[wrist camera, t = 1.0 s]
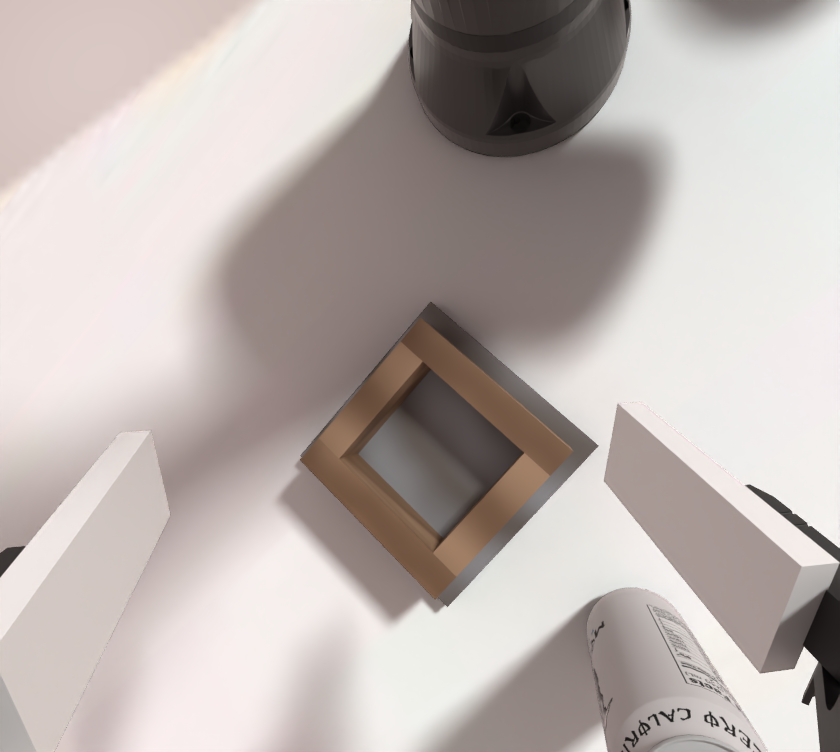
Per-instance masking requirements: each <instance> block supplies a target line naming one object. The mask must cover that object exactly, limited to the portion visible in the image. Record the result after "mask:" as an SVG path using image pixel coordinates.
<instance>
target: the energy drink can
mask: <svg viewBox="0 0 840 752" xmlns="http://www.w3.org/2000/svg"><path fill="white" fill-rule="evenodd" d="M586 631H587V640H588V646H589V651H590V657H591V662H592V668H593V673H594V679H595V684H596V690H597V695H598V701H599V706H600V712H601V717H602V723H603V728H604V734H605V739H606V745H607V750H608V752H768V751H767V749H766V747H765V745H764V743H763V742H762V740H761V738H760V737H759V735H758V734H757V732H756V731H755V729H754V728H753V726H752V725H751V723H750V722H749V720H748V718H747V717H746V715H745V714H744V712H743V711H742V709H741V708H740V706H739V705H738V703H737V701H736V700H735V698H734V697H733V695H732V694H731V692H730V691H729V689H728V688H727V686H726V685H725V683H724V681H723V680H722V678H721V677H720V675H719V674H718V672H717V671H716V669H715V668H714V666H713V664H712V663H711V661H710V660H709V658H708V657H707V655H706V654H705V652H704V651H703V649H702V648H701V646H700V644H699V643H698V641H697V640H696V638H695V637H694V635H693V634H692V632H691V631H690V629H689V627H688V626H687V624H686V623H685V621H684V620H683V618H682V617H681V615H680V614H679V612H678V611H677V610H676V609H675V607H674V606H673V605H672V604H671V603H669V602H668V601H667V600H666V599H665V598H663V597H661V596H660V595H658V594H656V593H654V592H651V591H649V590H646V589H641V588H622V589H617V590H614V591H612V592H610V593H608V594H606V595H605V596H603V597H602V598H601V599H600V600H599V601H598V602H597V603H596V604H595V605H594V607H593V609H592V610H591V612H590V615H589V618H588V621H587V630H586Z"/></svg>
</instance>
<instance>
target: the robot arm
mask: <svg viewBox="0 0 840 752" xmlns="http://www.w3.org/2000/svg"><path fill="white" fill-rule="evenodd" d="M411 19H412V24H411V28H410V34H409V47H408V56H409V66H410V73H411V77H412V81H413V84H414V87H415V90H416V92H417V95H418V97H419V100H420V102H421V105H422V107H423V109H424V111H425V113H426V115H427V116H428V118H429V119H430V121H431V122H432V124H433V125H434V126H435V127H436V128H437V129H438V130H439V131H440V132H441V133H442V134H443V135H444V136H445V137H446V138H448V139H449V140H451V141H452V142H453V143H455V144H457V145H459V146H461V147H463V148H465V149H467V150H470V151H473V152H476V153H480V154H484V155H491V156H518V155H524V154H529V153H533V152H537V151H540V150H543V149H546V148H548V147H551V146H553V145H555V144H557V143H559V142H561V141H563V140H565V139H566V138H568V137H569V136H571V135H573V134H574V133H575V132H577V131H578V130H579V129H581V128H582V127H583V126H584V125H585V124H587V123H588V122H589V121H590V120H591V119H592V118H593V117H594V116H595V115H596V113H597V112H598V111H599V110H600V109H601V108H602V106H603V105H604V104H605V102H606V101H607V99H608V98H609V96H610V95H611V93H612V91H613V89H614V87H615V85H616V83H617V81H618V79H619V76H620V74H621V71H622V68H623V64H624V60H625V56H626V51H627V47H628V42H629V37H630V30H631V5H630V0H411ZM604 482H605V483H606V484H607V485H608V487H609V488H610V489H611V490H612V492H613V493H614V494H615V495H616V496H617V498H618V499H619V500H620V501H621V503H622V504H623V505H624V506H625V508H626V509H627V510H628V511H629V513H630V514H631V515H632V516H633V517H634V519H635V520H636V521H637V522H638V524H639V525H640V526H641V527H642V529H643V530H644V531H645V532H646V534H647V535H648V536H649V537H650V538H651V540H652V541H653V542H654V543H655V545H656V546H657V547H658V548H659V550H660V551H661V552H662V553H663V554H664V556H665V557H666V558H667V559H668V561H669V562H670V563H671V564H672V566H673V567H674V568H675V569H676V571H677V572H678V573H679V574H680V575H681V577H682V578H683V579H684V580H685V582H686V583H687V584H688V585H689V587H690V588H691V589H692V590H693V591H694V593H695V594H696V595H697V596H698V598H699V599H700V600H701V601H702V603H703V604H704V605H705V606H706V608H707V609H708V610H709V611H710V612H711V614H712V615H713V616H714V617H715V619H716V620H717V621H718V622H719V624H720V625H721V626H722V627H723V629H724V630H725V631H726V632H727V633H728V635H729V636H730V637H731V638H732V640H733V641H734V642H735V643H736V645H737V646H738V647H739V648H740V649H741V651H742V652H743V653H744V654H745V656H746V657H747V658H748V659H749V661H750V662H751V663H752V664H753V666H754V667H755V668H756V669H757V670H758V672H759V673H767V672H774V671H781V670H789V669H794V668H795V666H796V664H797V661H798V659H799V657H800V654H801V652H802V650H803V647H805V648H806V649H807V650H808V651H809V652H810V653H811V654H812V655H813V656H814V657H815V658H816V659H817V661H818V664H817V666H816V668H815V670H814V673H813V675H812V677H811V679H810V681H809V684H808V686H807V688H806V690H805V692H804V695H803V699H802V703H804V704H806V705H809V703H810V701H811V699H812V697H814V696H815V698H816V709H817V720H818V732H819V743H820V752H840V548H838V547H837V546H836V545H835V544H833V543H832V542H831V541H829V540H828V539H827V538H826V537H824V536H823V535H822V534H820V533H819V532H818V531H817V530H815V529H814V528H813V527H812V526H809V527H808V525H807V523H806V522H805V521H804V520H803V519H801V518H800V517H799V516H798V515H796V514H792V511H791V510H790V509H789V508H787V507H786V506H785V505H783V504H782V503H781V502H780V501H778V500H777V499H776V498H775V497H773V496H771V495H769V494H767V493H765V492H763V491H761V490H759V489H757V488H755V487H753V486H751V485H744V484H742V483H741V482H740V481H739V480H737V479H736V478H735V477H734V476H732V475H731V474H730V473H729V472H727V471H726V470H725V469H724V468H723V467H721V466H720V465H719V464H718V463H716V462H715V461H714V460H713V459H711V458H710V457H709V456H708V455H707V454H705V453H704V452H703V451H702V450H700V449H699V448H698V447H697V446H695V445H694V444H693V443H692V442H690V441H689V440H688V439H687V438H686V437H684V436H683V435H682V434H681V433H679V432H678V431H677V430H676V429H674V428H673V427H672V426H671V425H670V424H668V423H667V422H666V421H665V420H663V419H662V418H661V417H660V416H658V415H657V414H656V413H655V412H654V411H652V410H651V409H650V408H649V407H647V406H646V405H645V404H644V403H642V402H632V403H618V405H617V410H616V416H615V421H614V427H613V433H612V438H611V444H610V449H609V455H608V461H607V466H606V472H605V477H604ZM170 515H171V514H170V510H169V505H168V501H167V497H166V492H165V488H164V484H163V479H162V475H161V471H160V466H159V462H158V458H157V453H156V449H155V445H154V440H153V436H152V432H151V430H148V431H131V432H120V433H119V434H118V436H117V437H116V438H115V439H114V440H113V442H112V443H111V444H110V445H109V446H108V448H107V449H106V450H105V451H104V452H103V454H102V455H101V456H100V457H99V459H98V460H97V461H96V462H95V463H94V465H93V466H92V467H91V468H90V469H89V471H88V472H87V473H86V474H85V476H84V477H83V478H82V479H81V480H80V482H79V483H78V484H77V485H76V486H75V488H74V489H73V490H72V491H71V492H70V494H69V495H68V496H67V497H66V499H65V500H64V501H63V502H62V503H61V505H60V506H59V507H58V508H57V509H56V511H55V512H54V513H53V514H52V515H51V517H50V518H49V519H48V520H47V522H46V523H45V524H44V525H43V526H42V528H41V529H40V530H39V531H38V532H37V534H36V535H35V536H34V537H33V539H32V540H31V541H30V542H29V543H28V545H27V546H23V547H11V548H7V549H5V550H4V551H3V552H1V553H0V752H55V750H56V748H57V746H58V744H59V742H60V740H61V738H62V736H63V734H64V732H65V730H66V728H67V726H68V723H69V721H70V719H71V717H72V715H73V713H74V711H75V709H76V707H77V705H78V703H79V701H80V699H81V697H82V695H83V693H84V691H85V689H86V687H87V685H88V683H89V681H90V679H91V677H92V674H93V672H94V670H95V668H96V666H97V664H98V662H99V660H100V658H101V656H102V654H103V652H104V650H105V648H106V646H107V644H108V642H109V640H110V638H111V636H112V634H113V632H114V630H115V628H116V626H117V623H118V621H119V619H120V617H121V615H122V613H123V611H124V609H125V607H126V605H127V603H128V601H129V599H130V597H131V595H132V593H133V591H134V589H135V587H136V585H137V583H138V581H139V579H140V577H141V575H142V572H143V570H144V568H145V566H146V564H147V562H148V560H149V558H150V556H151V554H152V552H153V550H154V548H155V546H156V544H157V542H158V540H159V538H160V536H161V534H162V532H163V530H164V528H165V526H166V524H167V521H168V519H169V517H170Z"/></svg>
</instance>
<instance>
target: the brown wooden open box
mask: <svg viewBox="0 0 840 752" xmlns="http://www.w3.org/2000/svg"><path fill="white" fill-rule="evenodd" d="M597 447H598V445H597V444H596V443H595V442H594V441H592V440H591V439H590V438H589V437H588V436H587V435H585V434H584V433H583V432H582V431H581V430H580V429H578V428H577V427H576V426H575V425H574V424H573V423H571V422H570V421H569V420H568V419H567V418H566V417H564V416H563V415H562V414H561V413H560V412H559V411H557V410H556V409H555V408H554V407H553V406H552V405H550V404H549V403H548V402H547V401H546V400H545V399H544V398H542V397H541V396H540V395H539V394H538V393H537V392H535V391H534V390H533V389H532V388H531V387H530V386H528V385H527V384H526V383H525V382H524V381H523V380H521V379H520V378H519V377H518V376H517V375H516V374H514V373H513V372H512V371H511V370H510V369H509V368H507V367H506V366H505V365H504V364H503V363H502V362H500V361H499V360H498V359H497V358H496V357H495V356H493V355H492V354H491V353H490V352H489V351H488V350H486V349H485V348H484V347H483V346H482V345H481V344H479V343H478V342H477V341H476V340H475V339H474V338H472V337H471V336H470V335H469V334H468V333H467V332H466V331H464V330H463V329H462V328H461V327H460V326H459V325H457V324H456V323H455V322H454V321H453V320H452V319H450V318H449V317H448V316H447V315H446V314H445V313H443V312H442V311H441V310H440V309H439V308H438V307H436V306H435V305H434V304H433V303H432V302H430V303H429V304H428V306H427V307H426V308H425V309H424V310H423V312H422V313H421V314H420V315H419V316H418V317H417V319H416V320H415V321H414V322H413V323H412V325H411V326H410V327H409V328H408V329H407V330H406V332H405V333H404V334H403V335H402V336H401V338H400V339H399V340H398V341H397V342H396V343H395V345H394V346H393V347H392V348H391V349H390V351H389V352H388V353H387V354H386V355H385V356H384V358H383V359H382V360H381V361H380V362H379V364H378V365H377V366H376V367H375V368H374V369H373V371H372V372H371V373H370V374H369V375H368V377H367V378H366V379H365V380H364V381H363V382H362V384H361V385H360V386H359V387H358V388H357V390H356V391H355V392H354V393H353V394H352V395H351V397H350V398H349V399H348V400H347V401H346V402H345V404H344V405H343V406H342V407H341V408H340V410H339V411H338V412H337V413H336V414H335V415H334V417H333V418H332V419H331V420H330V421H329V423H328V424H327V425H326V426H325V427H324V428H323V430H322V431H321V432H320V433H319V434H318V436H317V437H316V438H315V439H314V440H313V441H312V443H311V444H310V445H309V446H308V447H307V449H306V450H305V451H304V452H303V453H302V454H301V457H302V458H301V459H300V460H301V461H302V462H303V463H304V465H305V466H306V467H307V468H308V469H309V470H310V471H311V472H312V473H313V474H314V475H315V476H316V477H317V478H318V479H319V480H320V481H321V482H322V483H323V484H324V485H325V486H326V487H327V488H328V489H329V490H330V491H331V492H332V493H333V494H334V496H335V497H336V498H337V499H338V500H339V501H340V502H341V503H342V504H343V505H344V506H345V507H346V508H347V509H348V510H349V511H350V512H351V513H352V514H353V515H354V516H355V517H356V518H357V519H358V520H359V521H360V522H361V523H362V524H363V525H364V527H365V528H366V529H367V530H368V531H369V532H370V533H371V534H372V535H373V536H374V537H375V538H376V539H377V540H378V541H379V542H380V543H381V544H382V545H383V546H384V547H385V548H386V549H387V550H388V551H389V552H390V553H391V554H392V555H393V556H394V557H395V559H396V560H397V561H398V562H399V563H400V564H401V565H402V566H403V567H404V568H405V569H406V570H407V571H408V572H409V573H410V574H411V575H412V576H413V577H414V578H415V579H416V580H417V581H418V582H419V583H420V584H421V585H422V586H423V587H424V588H425V590H426V591H427V592H428V593H429V594H430V595H431V596H432V597H433V598H434V599H436V598H437V597H438V598H439V599H440V600H441V601H442V602H443V603H444V604H445V605H446V606H447V607H448V606H449V605H450V604H451V603H452V602H453V601H454V600H455V599H456V597H457V596H458V595H459V594H460V593H461V592H462V591H463V590H464V589H465V588H466V587H467V586H468V585H469V584H470V582H471V581H472V580H473V579H474V578H475V577H476V576H477V575H478V574H479V573H480V572H481V571H482V570H483V569H484V568H485V566H486V565H487V564H488V563H489V562H490V561H491V560H492V559H493V558H494V557H495V556H496V555H497V554H498V553H499V552H500V550H501V549H502V548H503V547H504V546H505V545H506V544H507V543H508V542H509V541H510V540H511V539H512V538H513V537H514V536H515V534H516V533H517V532H518V531H519V530H520V529H521V528H522V527H523V526H524V525H525V524H526V523H527V522H528V521H529V520H530V518H531V517H532V516H533V515H534V514H535V513H536V512H537V511H538V510H539V509H540V508H541V507H542V506H543V505H544V504H545V502H546V501H547V500H548V499H549V498H550V497H551V496H552V495H553V494H554V493H555V492H556V491H557V490H558V489H559V488H560V486H561V485H562V484H563V483H564V482H565V481H566V480H567V479H568V478H569V477H570V476H571V475H572V474H573V473H574V472H575V470H576V469H577V468H578V467H579V466H580V465H581V464H582V463H583V462H584V461H585V460H586V459H587V458H588V457H589V455H590V454H591V453H592V452H593V451H594V450H595V449H596V448H597Z"/></svg>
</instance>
